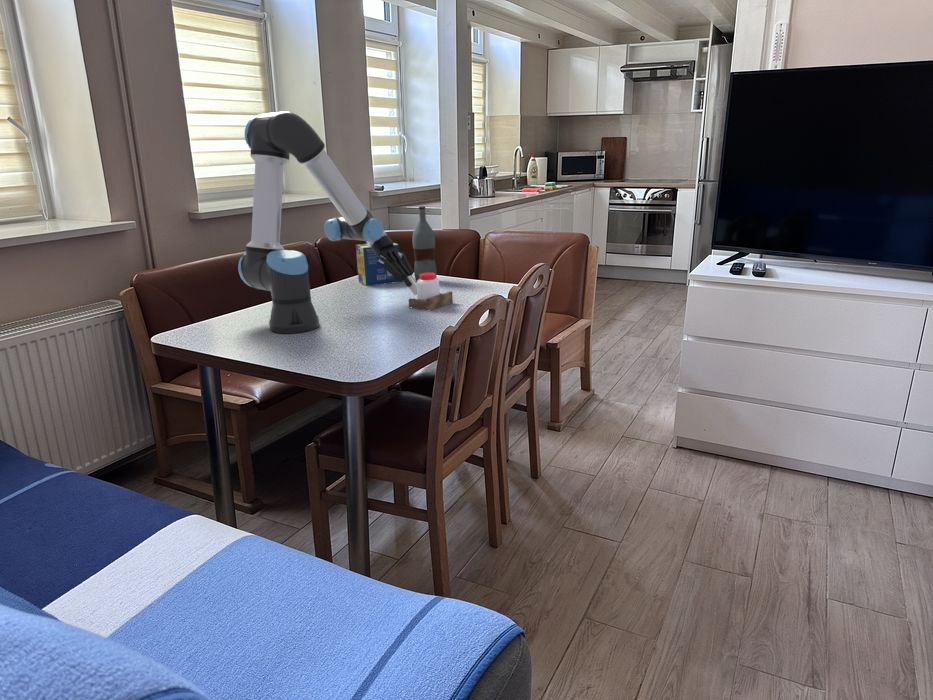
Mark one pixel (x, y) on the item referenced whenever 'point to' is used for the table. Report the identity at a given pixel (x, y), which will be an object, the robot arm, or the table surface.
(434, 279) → the pill bottle
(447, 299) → the dock
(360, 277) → the protein box
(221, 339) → the table surface
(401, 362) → the table surface
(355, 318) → the table surface
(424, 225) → the grey-green bottle
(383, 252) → the robot arm
